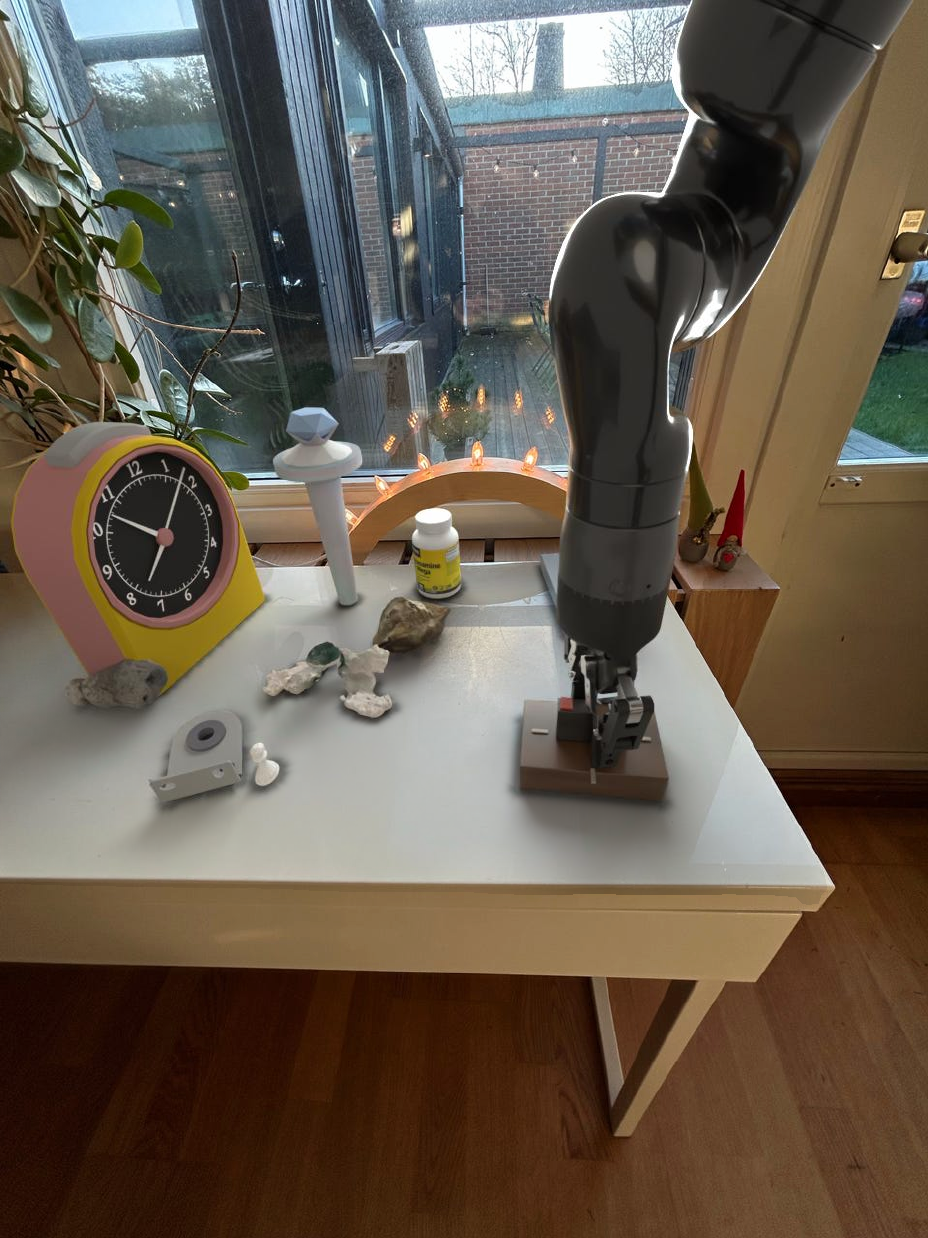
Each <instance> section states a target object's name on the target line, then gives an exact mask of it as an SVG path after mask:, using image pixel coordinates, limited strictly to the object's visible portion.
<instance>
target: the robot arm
mask: <svg viewBox="0 0 928 1238" xmlns="http://www.w3.org/2000/svg"><path fill="white" fill-rule="evenodd" d="M914 1H915V0H691V1H690V4H689V5H688V9H687V12H686V14H685V16H684V20H683V23H682V26H681V29H680V31H679V34H678V38H677V41H676V44H675V48H674V53H673V56H672V64H671V65H672V66H671V79H672V85H673V88H674V91H675V93H676V96H677V97H678V98H679V101H680V102H681V104H683V106H684V107H685V109H687V111H688V112H689V113H688V114H689V115H688V118H687V119H688V120H687V122H686V125H685V129H684V132H683V135H682V138H681V141H680V144H679V147H678V151H677V153H676V156H675V159H674V162H673V165H672V168H671V172H670V174H669V177H668V179H667V182H666V184H665V186H664V188H663V190H662V192H641V191H636V192H635V191H631V192H621V193H617V194H614V195H611V196H607V197H605V198H602V199H600V200H598V201H596V202H595V203H594V204H593V205H592V206H590V207H589V208H588V209H587V210H586V211H584V212H583V214H581V215H580V216H579V217H578V218H577V220H576V221H575V223H573V225H572V227H571V229H570V230H569V232H568V234H567V235H566V237H565V239H564V240H563V243H562V245H561V248H560V251H559V253H558V256H557V259H556V261H555V265H554V269H553V273H552V277H551V282H550V288H549V296H548V310H547V311H548V312H547V314H548V316H547V317H548V331H549V337H550V346H551V352H552V356H553V363H554V367H555V372H556V378H557V384H558V389H559V395H560V400H561V407H562V412H563V416H564V421H565V424H566V428H567V433H568V438H569V444H570V445H569V452H568V461H567V462H568V464H567V479H566V480H567V481H566V493H565V494H566V495H565V509H564V514H563V515H564V516H563V520H562V524H561V530H560V536H559V551H558V553H559V565H558V581H557V599H556V608H555V620H556V624H557V626H558V628H559V629H560V631H561V632H562V633H563V634H564V645H563V646H564V647H563V648H564V649H563V650H564V652H563V659H564V661H565V663H566V664H569V670H568V677H569V679H570V681H571V692H570V698H572V699H580V700H586V706H587V707H588V709H589V710H590V711H591V712H592V715H593V734H592V742H591V750H590V758H589V759H590V762H591V764H592V766H593V767H594V768H604V767H612V766H616V765H617V763H618V760H619V754H620V751H626V750H634V749H638V748H639V746H640V743H641V741H642V739H643V736H644V734H645V732H646V729H647V727H648V725H649V722H650V720H651V717H652V715H653V713H654V711H655V702H654V699H653V696H651V695H649V694H648V695H640V696H639V693H638V691H637V688H636V686H635V681H636V680H637V679H636V678H637V676H638V675H637V674H638V653H639V652H640V651H642V649H643V648H644V647H646V646H647V645H648V644H649V643H651V642H652V641H653V640H654V639H656V638H657V636H658V635H659V633H660V631H661V630H662V625H663V619H664V615H665V610H666V605H667V601H668V595H669V590H670V585H671V580H672V575H673V570H674V566H675V561H676V555H677V551H678V544H679V527H680V525H679V522H680V515H681V508H682V504H683V499H684V494H685V490H686V489H685V488H686V485H687V484H686V483H687V479H688V474H689V468H690V464H691V463H690V462H691V457H692V449H693V440H694V439H693V437H694V430H693V426H692V423H691V420H690V418H689V417H688V415H687V414H686V413H685V412H683V411H682V410H680V409H679V408H677V407H676V406H674V405H671V404H669V370H670V367H669V366H670V355H673V354H674V355H675V354H677V353H681V352H684V351H687V350H690V349H693V348H695V347H696V346H697V347H698V346H699V345H700V344H702V343H703V342H705V341H707V340H708V339H709V338H711V337H712V336H714V334H715V333H717V332H719V330H720V329H721V328H722V327H723V326H725V324H726V323H727V322H728V321H729V319H731V317H732V316H733V315H734V313H736V311H737V310H738V308H740V306H741V304H742V303H743V302H744V301H745V299H746V298H747V297H748V295H749V294H750V292H751V291H752V289H753V288H754V286H755V284H756V283H757V282H758V280H759V279H760V277H761V275H762V273H763V272H764V270H765V269H766V266H767V265H768V263H769V261H770V259H771V258H772V255H773V254H774V252H775V250H776V247H777V246H778V244H779V242H780V240H781V237H782V236H783V234H784V231H785V229H786V227H787V226H788V223H789V221H790V220H791V217H792V215H793V213H794V211H795V210H796V207H797V206H798V203H799V202H800V199H801V197H802V195H803V193H804V191H805V189H806V187H807V185H808V183H809V181H810V180H811V179H810V178H811V177H812V174H813V172H814V170H815V168H816V165H817V163H818V161H819V158H820V156H821V154H822V152H823V149H824V146H825V144H826V141H827V139H828V137H829V135H830V133H831V131H832V130H833V127H834V125H835V123H836V121H837V119H838V117H839V115H840V114H841V112H842V111H843V109H844V108H845V105H846V104H847V102H848V101H849V100H850V98H851V96H852V95H853V94H854V93H855V91H856V90H857V88H858V87H859V86H860V85H861V82H862V81H863V79H864V78H865V77H866V75H867V74H868V72H869V70H870V69H871V68H872V66H873V65H874V64H875V62H876V61H877V58H878V54H877V53H876V51H882V50H883V49H884V48H885V46H886V45H887V43H888V41H889V40H890V38H891V37H892V35H893V34H894V32H895V31H896V29H897V27H898V26H899V25H900V23H901V21H903V19H904V16H905V15H906V13H907V12H908V11H909V8H910V7H911V6H912V4H913V3H914ZM598 694H599V695H609V694H617V696H616V695H615V696H607V697H600V698H598ZM605 713H609V715H608V718H607V722H606V723H603V716H604V714H605Z"/></svg>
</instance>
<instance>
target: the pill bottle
mask: <svg viewBox="0 0 928 1238" xmlns="http://www.w3.org/2000/svg"><path fill="white" fill-rule="evenodd" d="M414 520H415V527H416V529H415V530H414V532H413V533H412V535H411V544H412V553H413V554H412V555H413V563H414V572H415V580H416V587H417V591H418V592H419V593H420V594H421V595H422V596H423V597H425V598H429V599H438V600H439V599H445V598H449V597H451V596H453V595H456V594H457V593H458V592H459V591H460V590H461V587H462V574H461V573H462V572H461V556H460V541H459V540H460V539H459V533H458V531H457V530H456V528H454V527H453V519H452V513H451V512H450V511H449V510H447V509H444V508H439V507H438V508H436V507H435V508H434V507H433V508H427V509H423V510H420V511H419V512H417V513H416V514H415V516H414Z"/></svg>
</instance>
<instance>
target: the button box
mask: <svg viewBox="0 0 928 1238" xmlns="http://www.w3.org/2000/svg"><path fill="white" fill-rule="evenodd" d="M539 560H540V562H539V567H540V570H541V573H542V577H543V578H544V581H545V584H546V587H547V589H548V593H549V595H550V597H551V600H552V603H553V605H554V608H555V609H556V599H557V581H558V565H559V552H553V553H541V554H540V559H539Z"/></svg>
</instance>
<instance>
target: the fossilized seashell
mask: <svg viewBox="0 0 928 1238" xmlns="http://www.w3.org/2000/svg"><path fill="white" fill-rule="evenodd" d="M451 608H452V607H451V606H441V605H439V604H435V603H431V602H427V601H421V600H420V601H419V600H411V599H409V598H406V597H405V596H404V597H403V596H399V597H398V596H396V597H393V598H392V599H390V600H389V602H388V603H387V604H386V606H385V608H383V610H382V612H381V614H380V618H379V624H378V627H377V631H376V633H375V635H374V636H373V638H372V643H371V644H372V645H371V648H372V647H373V646H374V645H376V644H377V646H378V647H379V648H381V649H384V650H388V651H389V654H390V653H391V654H408V653H412V652H415V651H417V650H420V649H422V648H423V647H425V646H426V645H427V644H429V643H434V642H435V641H437V640H438V639H439V638H440V637H441V636H442V634H443V632H444V628H445V625H446V619H447V618H448V617H447V616H448V615H450V612H451V610H452V609H451Z"/></svg>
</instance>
